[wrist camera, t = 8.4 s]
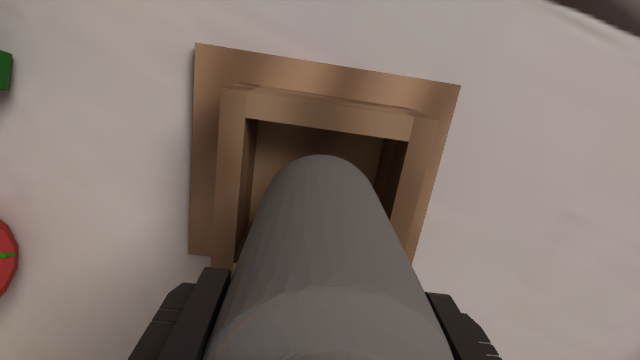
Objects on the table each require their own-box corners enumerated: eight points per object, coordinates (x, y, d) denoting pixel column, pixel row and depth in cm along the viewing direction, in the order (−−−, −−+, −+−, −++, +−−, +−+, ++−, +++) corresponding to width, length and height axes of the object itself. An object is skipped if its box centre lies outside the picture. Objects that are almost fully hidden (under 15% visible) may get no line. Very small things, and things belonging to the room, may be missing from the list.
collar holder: (454, 84, 22) (505, 91, 16) (404, 270, 26) (430, 328, 20) (200, 43, 20) (158, 35, 15) (193, 246, 25) (158, 300, 19)
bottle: (328, 276, 19) (374, 934, 5) (240, 217, 18) (-73, 868, 3) (399, 199, 17) (789, 802, 3) (309, 128, 16) (282, 601, 2)
